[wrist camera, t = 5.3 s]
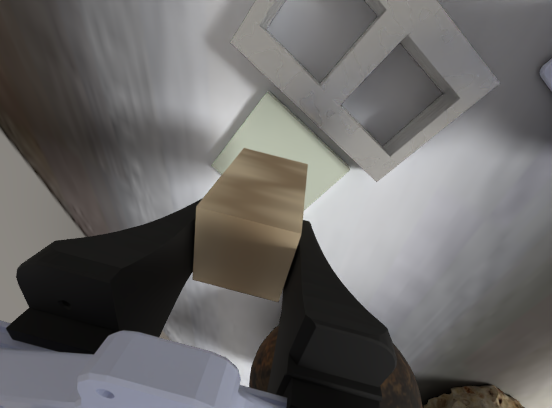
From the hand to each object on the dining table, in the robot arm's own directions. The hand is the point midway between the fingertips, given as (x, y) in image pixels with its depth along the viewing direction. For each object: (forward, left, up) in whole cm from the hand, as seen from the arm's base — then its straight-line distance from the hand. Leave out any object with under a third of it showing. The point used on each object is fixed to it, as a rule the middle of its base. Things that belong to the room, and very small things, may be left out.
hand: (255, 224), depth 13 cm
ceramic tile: (0, +1, -10) cm, 10 cm away
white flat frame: (+1, -9, -10) cm, 14 cm away
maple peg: (0, 0, -4) cm, 4 cm away
